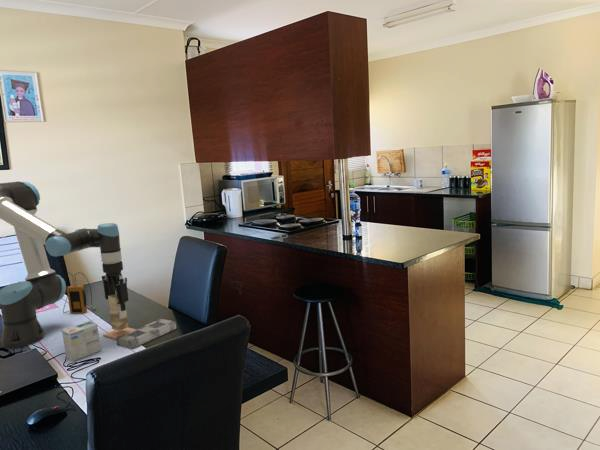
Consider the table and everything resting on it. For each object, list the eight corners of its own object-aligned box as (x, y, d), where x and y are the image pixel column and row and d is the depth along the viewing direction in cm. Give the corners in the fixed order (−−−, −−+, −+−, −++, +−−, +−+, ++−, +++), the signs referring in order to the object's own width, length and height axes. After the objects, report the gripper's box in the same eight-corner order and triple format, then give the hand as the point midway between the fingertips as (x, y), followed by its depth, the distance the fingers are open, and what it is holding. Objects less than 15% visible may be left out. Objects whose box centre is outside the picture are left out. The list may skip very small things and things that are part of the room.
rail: (131, 349, 171) (130, 341, 171) (116, 344, 176) (115, 337, 176) (176, 328, 189) (175, 321, 189) (161, 325, 194) (161, 318, 194)
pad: (118, 340, 180) (117, 338, 180) (102, 336, 186) (102, 334, 186) (139, 331, 189) (138, 330, 189) (123, 327, 194) (123, 326, 194)
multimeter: (102, 306, 225) (97, 267, 222) (91, 313, 215) (86, 272, 212) (74, 306, 227) (69, 267, 223) (62, 314, 217) (56, 273, 214)
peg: (118, 330, 184) (114, 297, 182) (112, 328, 186) (108, 296, 184) (128, 326, 188) (124, 294, 185) (121, 325, 190) (117, 292, 188)
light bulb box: (93, 346, 176) (89, 320, 174) (101, 350, 171) (98, 323, 170) (64, 357, 168) (60, 329, 166) (73, 361, 163) (69, 333, 162)
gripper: (134, 261, 181) (140, 317, 184) (107, 257, 190) (113, 311, 194) (117, 265, 175) (124, 323, 178) (90, 262, 184) (97, 316, 188)
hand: (118, 317), depth 186 cm, fingers closed on peg, 4 cm apart
